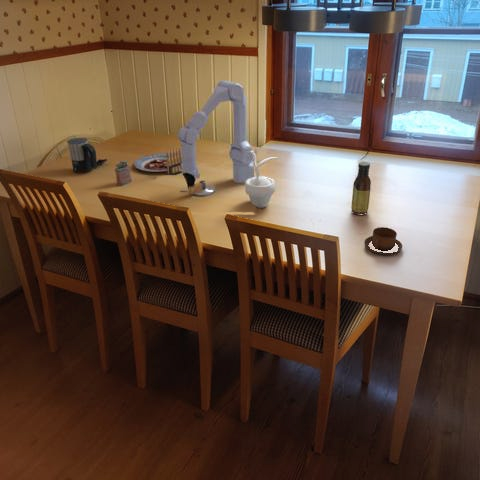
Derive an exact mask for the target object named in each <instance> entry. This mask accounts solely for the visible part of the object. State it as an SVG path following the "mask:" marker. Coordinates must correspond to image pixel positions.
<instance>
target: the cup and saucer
mask: <svg viewBox="0 0 480 480" xmlns="http://www.w3.org/2000/svg"><path fill="white" fill-rule="evenodd" d="M397 235H398V233H397V231H395V230H394V229H392V228H389V227H385V226H380V227H376V228H374V229H373V230H372V235H371V236H368V237H367V238H366V239H364V246H365V248H366V249H368V250H369V251H370V252H372V253H375V254H377V255H383V256H386V255H387V256H388V255H394V254H398V253H399V252H400V251H402V248H403V244H402V242H401V241H400V240H398V239H397ZM371 241H372V244H373V246H374V247H375V249H378V250H381V251H388V250H391V249H392V248H393V247H394V246H395V243H396V244H397V245H398V247H399V248H398V251H397V252H393V253H383V252H377V251H374V250H372V249H370V247H369V246H368V245H369V243H370V242H371Z"/></svg>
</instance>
